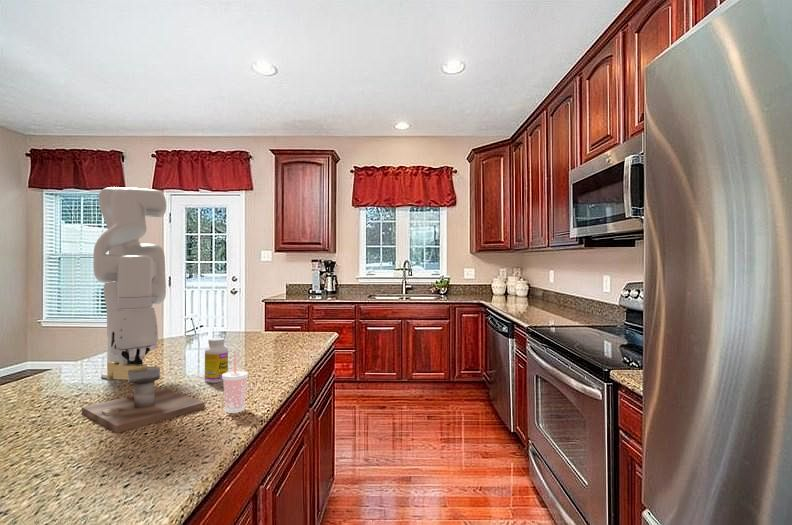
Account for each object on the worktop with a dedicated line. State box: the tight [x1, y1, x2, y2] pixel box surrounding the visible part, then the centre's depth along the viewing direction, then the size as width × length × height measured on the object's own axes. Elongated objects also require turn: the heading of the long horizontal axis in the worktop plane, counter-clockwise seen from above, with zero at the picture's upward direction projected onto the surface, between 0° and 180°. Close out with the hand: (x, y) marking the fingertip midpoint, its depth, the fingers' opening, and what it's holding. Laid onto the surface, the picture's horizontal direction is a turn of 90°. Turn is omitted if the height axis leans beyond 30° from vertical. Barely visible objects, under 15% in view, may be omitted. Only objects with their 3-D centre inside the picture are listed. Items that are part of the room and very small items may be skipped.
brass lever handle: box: [106, 361, 161, 384], centre depth 110 cm, size 13×7×4 cm, turn 81°
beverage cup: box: [222, 353, 249, 414], centre depth 111 cm, size 6×6×14 cm
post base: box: [81, 381, 206, 434], centre depth 110 cm, size 20×20×7 cm
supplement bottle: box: [204, 337, 229, 384], centre depth 137 cm, size 7×7×13 cm
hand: (134, 375), depth 114 cm, fingers closed
